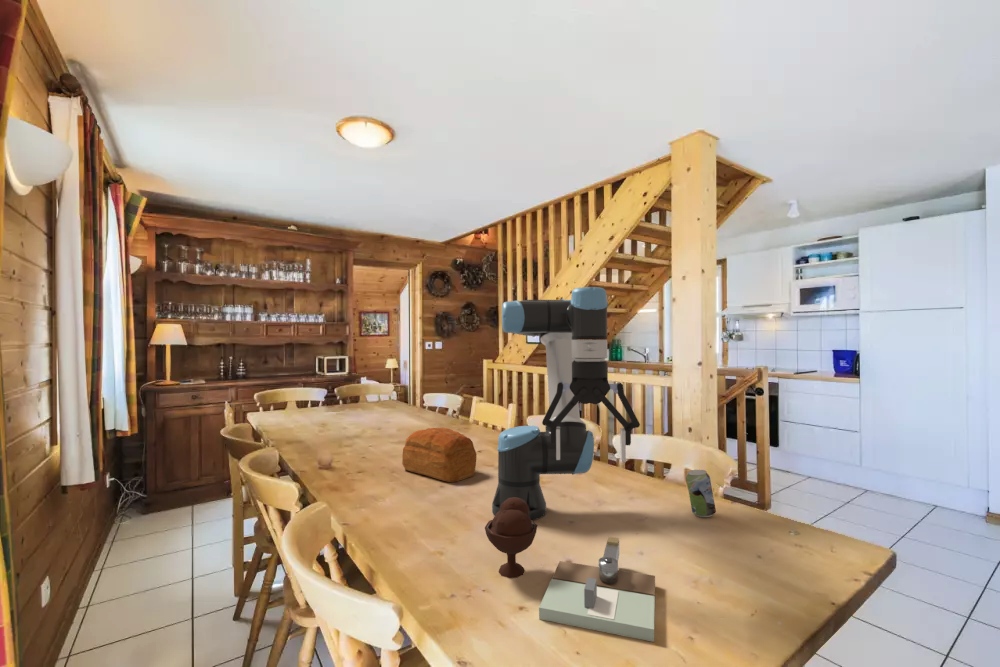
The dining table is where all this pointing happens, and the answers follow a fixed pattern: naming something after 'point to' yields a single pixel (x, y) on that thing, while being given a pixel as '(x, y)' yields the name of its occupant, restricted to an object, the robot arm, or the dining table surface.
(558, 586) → the door slab
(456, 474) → the bread
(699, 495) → the beverage can
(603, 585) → the strip
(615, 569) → the bar
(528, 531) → the ice cream bowl
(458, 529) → the dining table surface
